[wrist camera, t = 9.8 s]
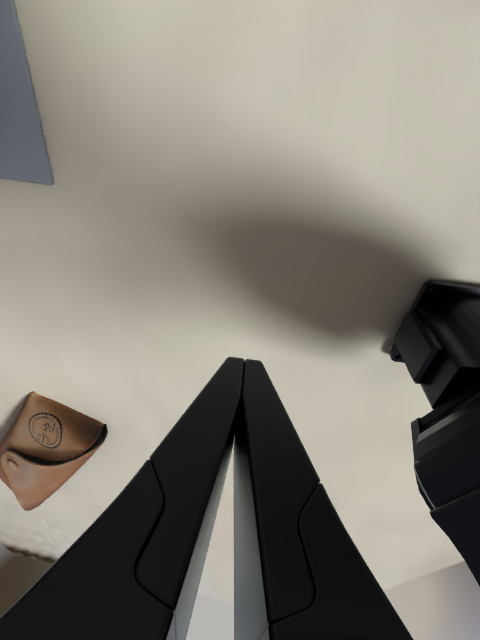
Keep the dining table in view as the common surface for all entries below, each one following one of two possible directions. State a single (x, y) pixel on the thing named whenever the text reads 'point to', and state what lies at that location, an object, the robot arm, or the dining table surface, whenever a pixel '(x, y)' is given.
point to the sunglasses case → (46, 448)
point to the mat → (19, 108)
